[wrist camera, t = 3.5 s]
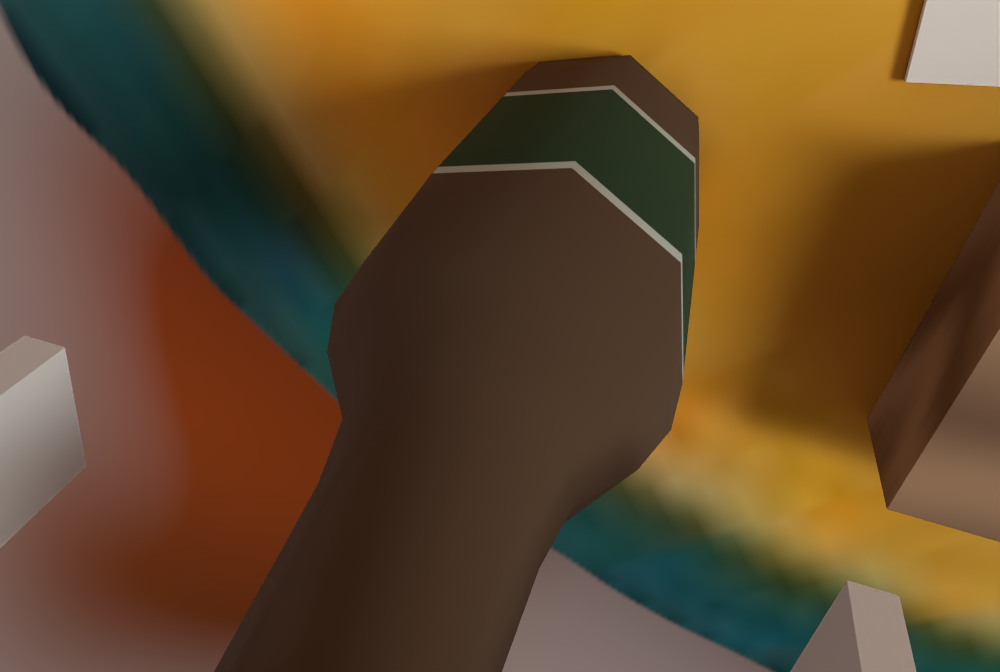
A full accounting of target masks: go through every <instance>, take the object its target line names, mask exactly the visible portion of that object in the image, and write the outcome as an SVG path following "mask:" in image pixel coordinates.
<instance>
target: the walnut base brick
mask: <svg viewBox="0 0 1000 672" xmlns="http://www.w3.org/2000/svg"><path fill="white" fill-rule="evenodd" d="M867 421H868V425H869V430H870V435H871V439H872V444H873V448H874V453H875V457H876V462H877V466H878V471H879V475H880V480H881V484H882V489H883V493H884V498H885V502H886V507H887V509H889V510H892V511H895V512H899V513H902V514H906V515H909V516H913V517H916V518H919V519H923V520H926V521H930V522H933V523H937V524H940V525H944V526H947V527H950V528H954V529H957V530H961V531H964V532H968V533H971V534H974V535H978V536H981V537H985V538H988V539H992V540H995V541H999V542H1000V180H999V182H998V184H997V186H996V187H995V189H994V191H993V193H992V195H991V196H990V198H989V200H988V202H987V204H986V206H985V207H984V209H983V211H982V213H981V215H980V216H979V218H978V220H977V222H976V224H975V225H974V227H973V229H972V231H971V233H970V234H969V236H968V238H967V240H966V242H965V243H964V245H963V247H962V249H961V251H960V252H959V254H958V256H957V258H956V260H955V261H954V263H953V265H952V267H951V269H950V270H949V272H948V274H947V276H946V278H945V280H944V281H943V283H942V285H941V287H940V289H939V290H938V292H937V294H936V296H935V298H934V299H933V301H932V303H931V305H930V307H929V308H928V310H927V312H926V314H925V316H924V317H923V319H922V321H921V323H920V325H919V326H918V328H917V330H916V332H915V334H914V335H913V337H912V339H911V341H910V343H909V345H908V346H907V348H906V350H905V352H904V354H903V355H902V357H901V359H900V361H899V363H898V364H897V366H896V368H895V370H894V372H893V373H892V375H891V377H890V379H889V381H888V382H887V384H886V386H885V388H884V390H883V391H882V393H881V395H880V397H879V399H878V400H877V402H876V404H875V406H874V408H873V409H872V411H871V413H870V415H869V417H868V419H867Z"/></svg>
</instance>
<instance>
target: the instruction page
mask: <svg viewBox="0 0 1000 672" xmlns="http://www.w3.org/2000/svg"><path fill="white" fill-rule="evenodd" d="M904 80H905V81H906V82H915V83H936V84H957V85H977V86H998V87H1000V0H924V4H923V8H922V12H921V16H920V19H919V23H918V27H917V31H916V35H915V39H914V43H913V47H912V51H911V55H910V59H909V63H908V66H907V70H906V74H905V78H904Z"/></svg>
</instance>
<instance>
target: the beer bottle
mask: <svg viewBox="0 0 1000 672" xmlns="http://www.w3.org/2000/svg"><path fill="white" fill-rule="evenodd" d="M698 229H699V125H698V117H697V116H696V115H695V114H694V113H693V112H692V111H691V110H690V109H689V108H688V107H686V106H685V105H684V104H683V103H682V102H681V101H680V100H679V99H678V98H677V97H675V96H674V95H673V94H672V93H671V92H670V91H669V90H668V89H667V88H666V87H665V86H663V85H662V84H661V83H660V82H659V81H658V80H657V79H656V78H655V77H654V76H652V75H651V74H650V73H649V72H648V71H647V70H646V69H645V68H644V67H643V66H641V65H640V64H639V63H638V62H637V61H636V60H635V59H634V58H633V57H632V56H631V55H626V56H613V57H601V58H588V59H575V60H562V61H549V62H539V63H538V64H536V65H535V66H534V67H532V68H531V69H530V70H528V71H527V72H526V73H525V74H524V75H523V76H522V77H521V78H520V79H519V80H518V81H517V82H516V83H515V85H514V86H513V87H512V88H511V89H510V90H509V91H508V92H507V93H506V94H505V95H504V96H503V97H502V99H501V100H500V101H499V102H498V103H497V104H496V105H495V106H494V107H493V108H492V109H491V110H490V112H489V113H488V114H487V115H486V116H485V117H484V118H483V119H482V120H481V121H480V122H479V123H478V124H477V126H476V127H475V128H474V129H473V130H472V131H471V132H470V133H469V134H468V135H467V136H466V137H465V139H464V140H463V141H462V142H461V143H460V144H459V145H458V146H457V147H456V148H455V149H454V150H453V151H452V153H451V154H450V155H449V156H448V157H447V158H446V159H445V160H444V161H443V162H442V163H441V164H440V166H439V167H438V168H437V169H436V170H435V171H434V172H433V173H432V174H431V176H430V177H429V178H428V179H427V181H426V182H425V183H424V185H423V186H422V187H421V189H420V190H419V191H418V192H417V194H416V195H415V196H414V198H413V199H412V200H411V202H410V203H409V204H408V205H407V207H406V208H405V209H404V211H403V212H402V213H401V215H400V216H399V217H398V218H397V220H396V221H395V222H394V224H393V225H392V226H391V228H390V229H389V230H388V231H387V233H386V234H385V235H384V237H383V238H382V239H381V241H380V242H379V243H378V244H377V246H376V247H375V248H374V250H373V251H372V252H371V254H370V255H369V256H368V257H367V259H366V260H365V261H364V263H363V264H362V265H361V267H360V268H359V270H358V271H357V273H356V274H355V276H354V277H353V278H352V280H351V281H350V283H349V284H348V286H347V287H346V289H345V290H344V292H343V293H342V294H341V296H340V297H339V299H338V300H337V302H336V303H335V306H334V312H333V319H332V325H331V331H330V338H329V344H328V350H327V354H328V358H329V362H330V366H331V371H332V375H333V379H334V384H335V388H336V392H337V397H338V401H339V405H340V410H341V414H342V418H343V419H342V422H341V424H340V427H339V430H338V432H337V435H336V438H335V440H334V443H333V446H332V448H331V451H330V454H329V457H328V459H327V462H326V465H325V467H324V470H323V473H322V475H321V478H320V481H319V483H318V485H317V487H316V489H315V490H314V492H313V494H312V496H311V498H310V499H309V501H308V503H307V505H306V507H305V508H304V510H303V512H302V514H301V516H300V517H299V519H298V521H297V523H296V525H295V526H294V528H293V530H292V532H291V534H290V536H289V537H288V539H287V541H286V543H285V545H284V546H283V548H282V550H281V552H280V554H279V555H278V557H277V559H276V561H275V563H274V564H273V566H272V568H271V570H270V572H269V574H268V575H267V577H266V579H265V581H264V583H263V584H262V586H261V588H260V590H259V592H258V594H257V595H256V597H255V599H254V601H253V602H252V604H251V606H250V608H249V610H248V612H247V613H246V615H245V617H244V619H243V621H242V622H241V624H240V626H239V628H238V630H237V632H236V633H235V635H234V637H233V639H232V640H231V642H230V644H229V646H228V648H227V650H226V651H225V653H224V655H223V657H222V659H221V660H220V662H219V664H218V666H217V668H216V670H215V671H214V672H502V670H503V667H504V664H505V661H506V658H507V656H508V653H509V650H510V647H511V644H512V642H513V639H514V636H515V634H516V631H517V628H518V625H519V623H520V620H521V617H522V614H523V612H524V609H525V606H526V603H527V600H528V597H529V595H530V592H531V589H532V586H533V584H534V581H535V578H536V575H537V573H538V570H539V568H540V566H541V564H542V562H543V560H544V559H545V557H546V555H547V553H548V551H549V549H550V548H551V546H552V544H553V542H554V540H555V538H556V537H557V535H558V533H559V531H560V529H561V527H562V526H563V524H564V523H565V522H566V521H567V520H569V519H570V518H572V517H573V516H574V515H576V514H577V513H579V512H580V511H581V510H583V509H584V508H585V507H587V506H588V505H590V504H591V503H592V502H594V501H595V500H596V499H598V498H599V497H601V496H602V495H603V494H605V493H606V492H607V491H609V490H610V489H612V488H613V487H614V486H616V485H617V484H619V483H620V482H621V481H623V480H624V479H625V478H627V477H628V476H630V475H631V474H632V473H634V472H635V471H636V470H638V469H639V467H640V466H641V465H642V464H643V463H644V461H645V460H646V459H647V458H648V457H649V455H650V454H651V453H652V452H653V451H654V449H655V448H656V447H657V446H658V445H659V443H660V442H661V441H662V440H663V439H664V437H665V436H666V435H667V434H668V433H669V431H670V430H671V427H672V423H673V419H674V415H675V411H676V407H677V403H678V399H679V395H680V391H681V386H682V382H683V373H684V363H685V354H686V344H687V334H688V325H689V315H690V306H691V296H692V286H693V277H694V267H695V258H696V248H697V238H698Z"/></svg>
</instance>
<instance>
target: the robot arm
mask: <svg viewBox="0 0 1000 672" xmlns="http://www.w3.org/2000/svg"><path fill="white" fill-rule="evenodd" d="M85 467H86V462H85V456H84V451H83V445H82V440H81V435H80V429H79V423H78V418H77V412H76V407H75V401H74V396H73V390H72V385H71V379H70V373H69V368H68V363H67V357H66V351H65V347H62V346H58V345H55V344H51V343H48V342H45V341H41V340H38V339H34V338H31V337H28V336H23V337H22V338H20V339H19V340H17V341H16V342H14V343H13V344H12V345H10V346H9V347H7V348H6V349H4V350H3V351H1V352H0V548H1V547H2V546H3V545H4V544H5V543H6V542H7V541H8V540H9V539H10V538H11V537H12V536H13V535H14V534H15V533H17V532H18V531H19V529H21V528H22V527H23V526H24V525H25V524H26V523H27V522H28V521H29V520H30V519H31V518H32V517H33V516H34V515H35V514H36V513H38V512H39V511H40V510H41V509H42V508H43V507H44V506H45V505H46V504H47V503H48V502H49V501H50V500H51V499H52V498H53V497H54V496H55V495H56V494H57V493H58V492H59V491H61V490H62V489H63V488H64V487H65V486H66V485H67V484H68V483H69V482H70V481H71V480H72V479H73V478H74V477H75V476H76V475H77V474H78V473H79V472H80V471H81V470H83V469H84V468H85ZM790 672H916V668H915V664H914V659H913V655H912V651H911V646H910V642H909V637H908V633H907V629H906V624H905V620H904V615H903V611H902V607H901V602H900V598H899V596H898V595H895V594H891V593H888V592H885V591H881V590H878V589H874V588H871V587H868V586H864V585H861V584H858V583H854V582H851V581H848V580H847V581H846V583H845V584H844V586H843V588H842V589H841V591H840V593H839V594H838V596H837V597H836V599H835V601H834V602H833V604H832V605H831V607H830V609H829V610H828V612H827V613H826V615H825V617H824V618H823V620H822V622H821V623H820V625H819V626H818V628H817V630H816V631H815V633H814V634H813V636H812V638H811V639H810V641H809V642H808V644H807V646H806V647H805V649H804V650H803V652H802V654H801V655H800V657H799V659H798V660H797V662H796V663H795V665H794V667H793V668H792V670H791V671H790Z"/></svg>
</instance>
